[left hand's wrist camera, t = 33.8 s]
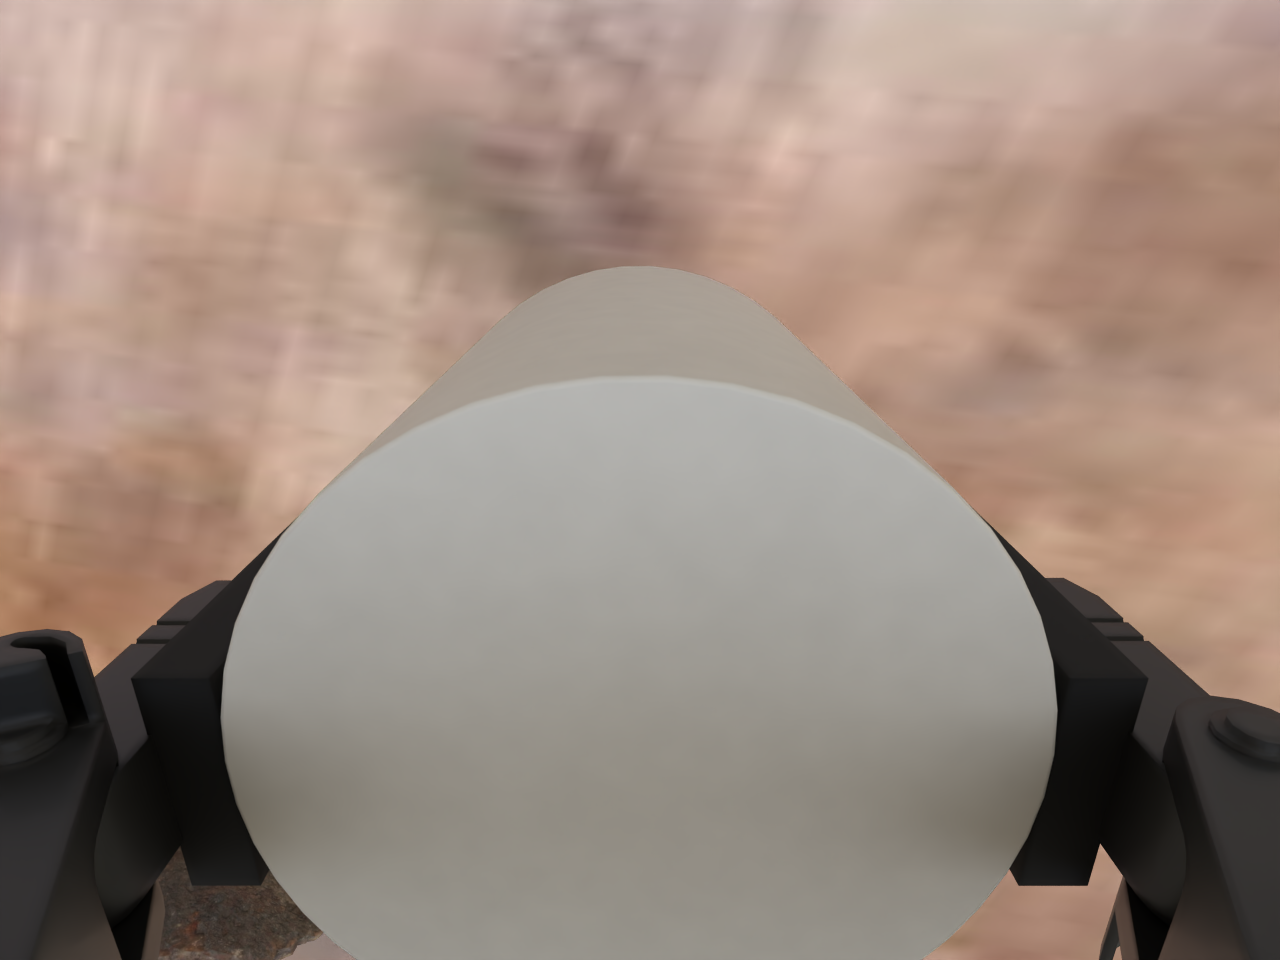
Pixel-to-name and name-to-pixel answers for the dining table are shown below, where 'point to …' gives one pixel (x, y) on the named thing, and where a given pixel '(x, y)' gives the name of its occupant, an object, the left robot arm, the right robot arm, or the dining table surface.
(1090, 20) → the dining table surface
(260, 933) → the rock
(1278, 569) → the dining table surface
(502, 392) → the can
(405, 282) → the dining table surface
